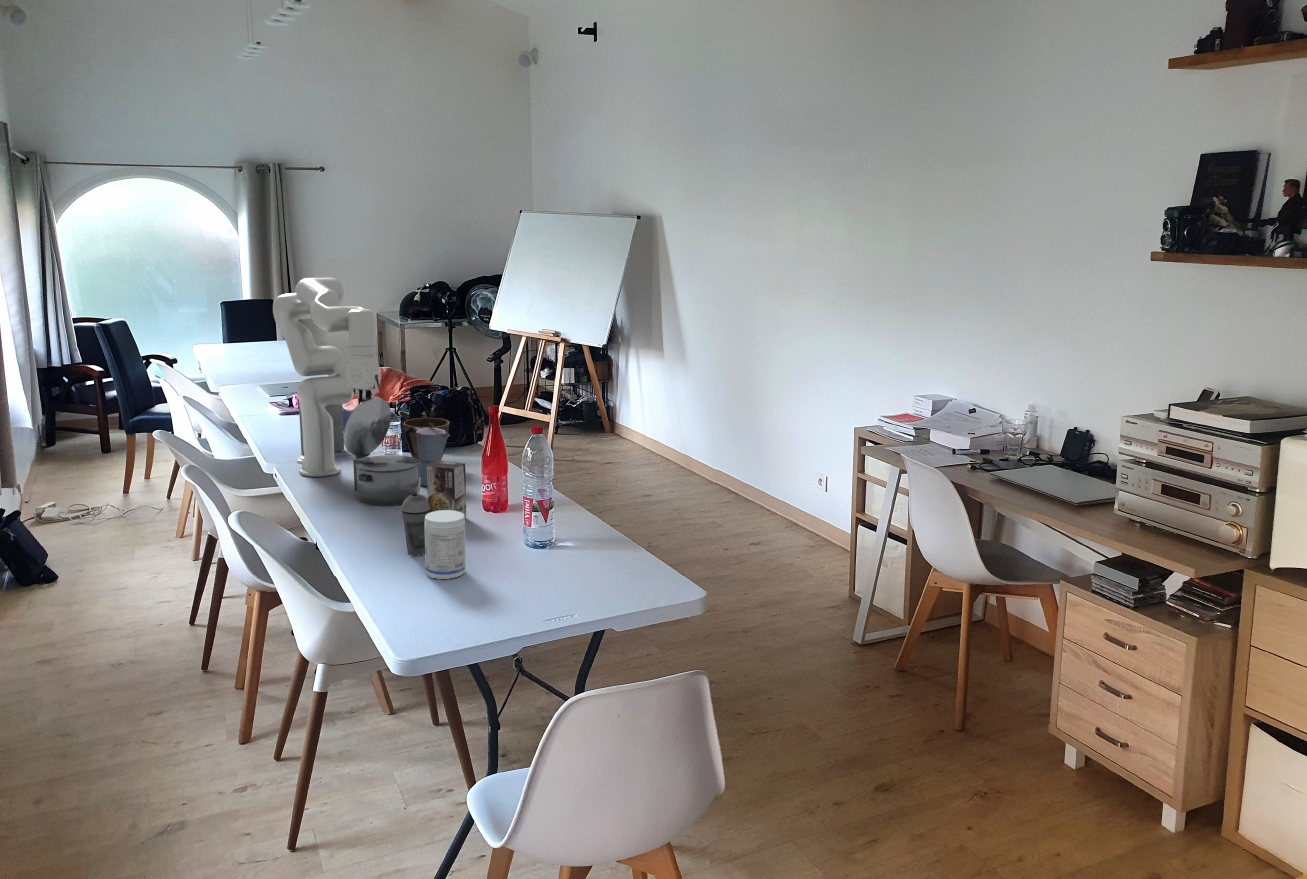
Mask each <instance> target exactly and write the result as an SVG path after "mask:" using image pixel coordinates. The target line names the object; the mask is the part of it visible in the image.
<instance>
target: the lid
mask: <svg viewBox="0 0 1307 879" xmlns="http://www.w3.org/2000/svg"><path fill="white" fill-rule="evenodd" d="M391 422H392V410H391V406H390V405H389V403H388V401H386V400H385V399H383V398H381V397H379V396H372V397H370V398H367V399H365V400H363V401H362V402H361V403H359V404H357V405H356V406H355V407H354V408H353V410H352V411H351V413H350V414H349V416H348V418H347V420H346V423H345V426H344V428H343V431H344V435H343V439H344V449H345V450H347V452H349V454H352V455H353V456H355V457H354V459H359V458H363V457H366V456H368V457H370V455H371V454H372V452H374V451H375V450H376V449H378V447H379V446H380V445H381V444H382V442H383V441H384V439H385V438H386V436H387V434H388V431H389V429H390V426H391Z"/></svg>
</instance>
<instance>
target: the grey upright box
mask: <svg viewBox="0 0 1307 879" xmlns="http://www.w3.org/2000/svg"><path fill="white" fill-rule="evenodd" d="M325 409H326V410H327V412H328V413H329V414H330V415H331V417H332V420H333V435H334V451H340V452H343V451H345V445H344V439H343V435H344V416H343V415H344V411H343V404H338V405H329V406H325ZM298 412H299V413H298V414H299V415H298V416H299V429H300V430H299V432H300V450H301V452H300V453H301V454H302V455H303V454H304V447H303V428H302V415H301V408H300V404H299V405H298ZM342 450H343V451H342Z"/></svg>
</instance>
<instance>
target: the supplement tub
mask: <svg viewBox="0 0 1307 879" xmlns="http://www.w3.org/2000/svg"><path fill="white" fill-rule="evenodd" d="M465 519H466V518H465V517H464V514H463V513H461V512H459V511H453V510H439V511H434V512H430V513H428V514H427V515H426V516H425V524H424V526H425V555H424V559H425V560H424V563H425V565H424V567H425V570H424V571H425V574H426V575H427V576H428V577H429V578H432V579H434V578H436V579H435V580H441V579H446V580H450V579H449V578H454V579H456V578H455V577H457V578H459V577H458V576H460V575H461V576H463V575H464V574H465V573H466V520H465ZM463 573H464V574H463ZM462 574H463V575H462ZM461 576H460V577H461Z"/></svg>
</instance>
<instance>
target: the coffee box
mask: <svg viewBox="0 0 1307 879" xmlns="http://www.w3.org/2000/svg"><path fill="white" fill-rule="evenodd" d="M466 482H467V480H466V463H462V462H455V461H445V460H441V461H436V462H434V463H432V464H430V465H427V485H428V486H427V500H428V502H429V504H430V508H431V511H430V512H434V511H439V510H453V511H459V512H461V513H463V514H464V517H465V519H467V492H466V491H467V490H466V489H467V488H466V486H467V485H466Z"/></svg>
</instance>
